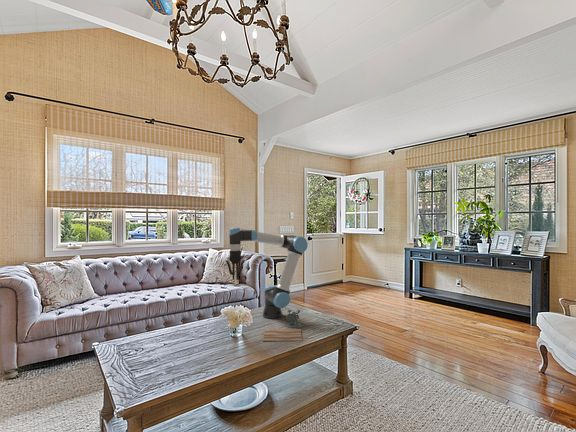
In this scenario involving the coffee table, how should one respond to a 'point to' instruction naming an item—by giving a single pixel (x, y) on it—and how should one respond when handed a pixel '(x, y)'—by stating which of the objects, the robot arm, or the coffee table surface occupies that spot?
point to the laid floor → (282, 338)
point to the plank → (282, 332)
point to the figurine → (293, 319)
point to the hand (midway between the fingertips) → (235, 284)
